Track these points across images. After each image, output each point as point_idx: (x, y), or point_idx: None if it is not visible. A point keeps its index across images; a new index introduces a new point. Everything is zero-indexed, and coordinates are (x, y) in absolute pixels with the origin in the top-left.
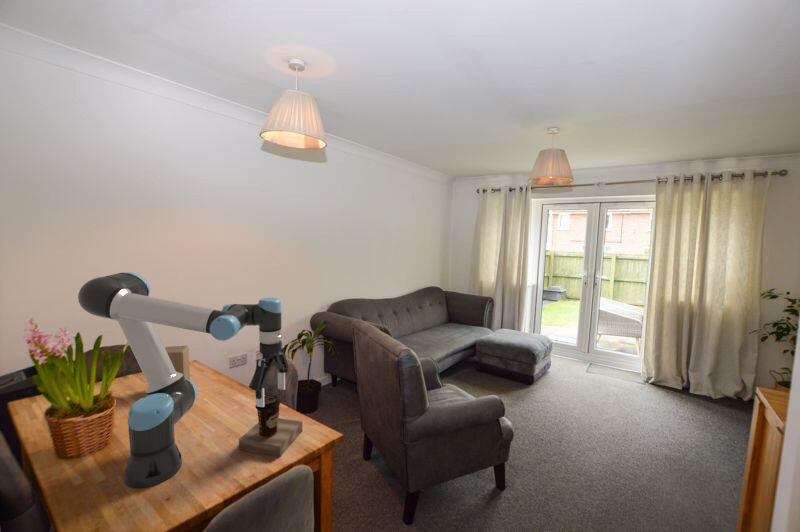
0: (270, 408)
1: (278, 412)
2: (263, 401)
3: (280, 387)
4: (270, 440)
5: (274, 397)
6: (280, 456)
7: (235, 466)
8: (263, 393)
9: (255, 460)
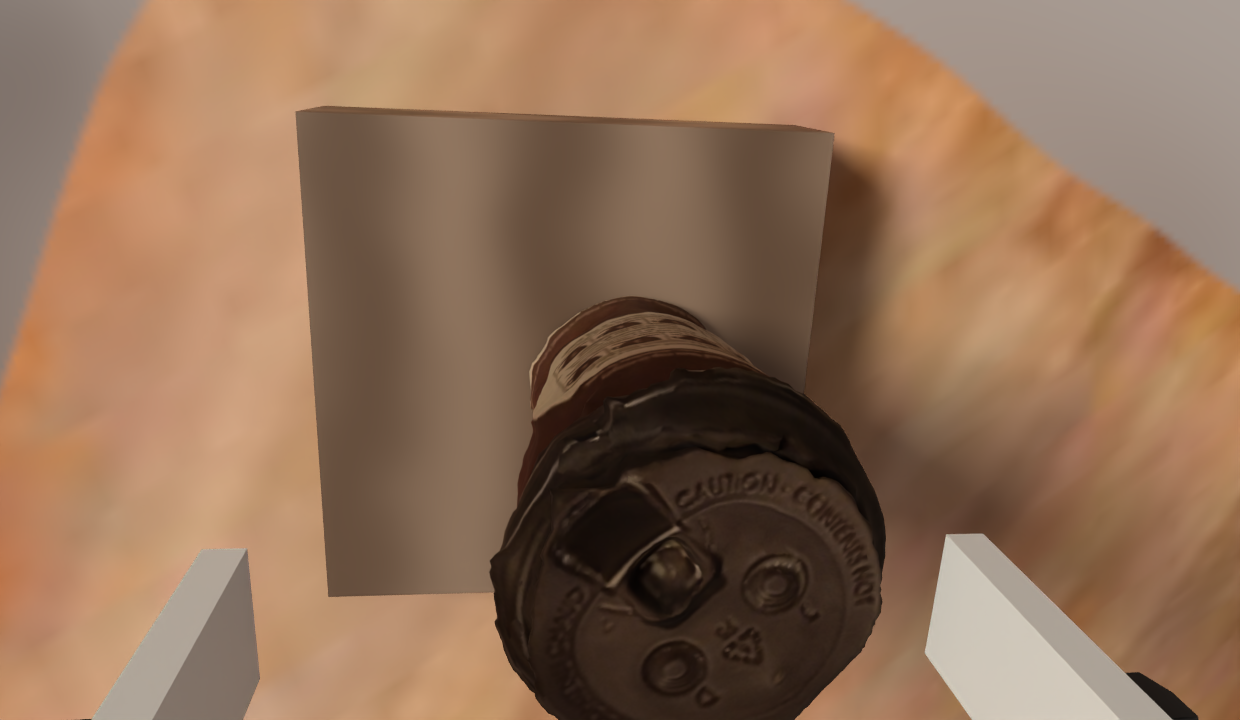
0: (848, 442)
1: (656, 347)
2: (1033, 592)
3: (242, 651)
4: (751, 289)
5: (596, 553)
6: (789, 125)
7: (949, 429)
8: (1140, 707)
9: (864, 321)
